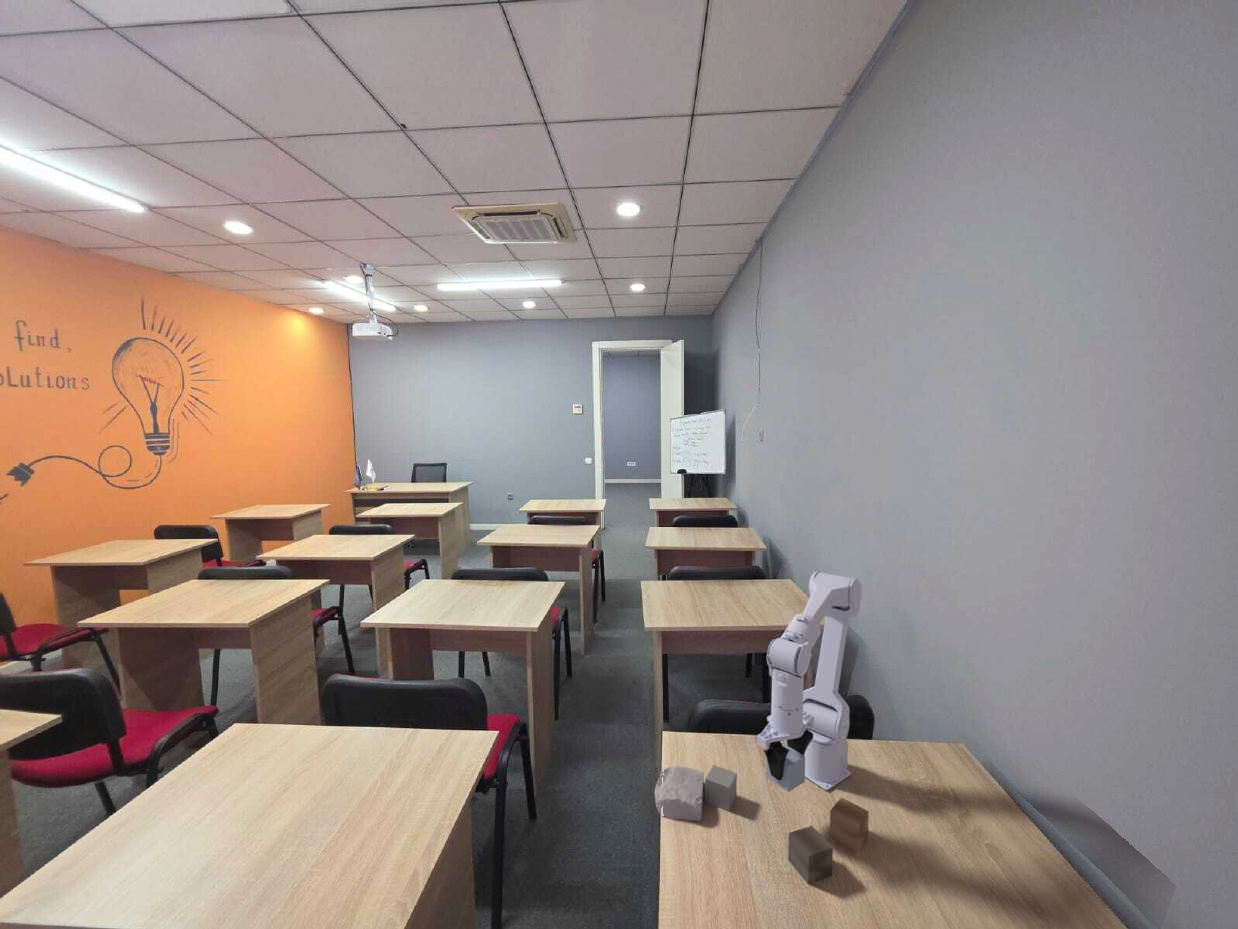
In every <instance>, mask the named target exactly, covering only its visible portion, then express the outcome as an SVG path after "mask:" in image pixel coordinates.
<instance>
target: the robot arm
mask: <svg viewBox="0 0 1238 929" xmlns="http://www.w3.org/2000/svg"><path fill="white" fill-rule="evenodd" d="M810 576H811V577H810V579H809V582H808V583H809V584H808V591H809V599H808V600H807V603H806V605H805V608H804V610H803V612H802V613H797V614H795V615H794V616H793V618H792V619H791V621H790V622H789V624H788V625H787V627H786V628H785V630H784V632H783V633H782V635H781V636H780V637H777V638H776V639H775V638H773V639H772V640H771V641H770V643H769V645H768V648H767V654H766V663H767V664H766V665H767V666H768V671H769V672H768V675H769V677H771V704H770V705H771V710H770V715H768V716H767V717H766V720H767V722H768V723H767V725H766V726H765V727H764V729H763V730H762V731H761V732H760V733H759V734H757V735H756V738H757V739H756V740H757V741H756V742H757V743H756V745H757V746H758V747H759V748H760V749H762V750H763V753H764V754H765V757H766V762H767V761H768V764H769V769H770V773H771V775H772V776H773V777H774V778H776V779H777V780H779V781H780V780H782V777H783V771H784V763H785V759H786V756H787V754H788V752H789V751H790V750H788V749H787V748H785V747H783V746H782V744H783V743H782V741H786V745H787V746H789V747H791V748H792V749H794V750H795V751H797V752H799V753H800V754H802V755H803V756H805V778H806V779H808V781H811V782H812V783H814V784H815V785H817V786H818V787H820V788H821V789H822V790H824V791H829V790H832V789H833V787H835V786H837V785H838V784H840V783H841V782H842V781H844V780H845V779H846V778H848V777H850V776H851V775H852V772H851V771H850V770H849V769H848V764H849V763H848V760H849V759H848V758H849V744H848V740H847V738H848V735H849V730H850V711H851V710H850V706H849V705H848V703H847V702H846V700H845V699H844V698H843V697H842V695H841V694H840V693H839V688H840V687H839V686H840V681H841V673H842V668H843V661H844V654H845V648H846V647H845V646H846V641H847V636H848V635H847V634H848V633H847V632H848V628H849V623H850V621H851V618H855V617H859V612H860V608H861V600H862V594H863V590H862V585H861V582H860V580H859V579H858V578H855V577H854V578H852V577H848V576H841V575H836V574H831V573H826V572H821V571H820V570H819V571H814V572H813V573H812V574H811V575H810ZM824 618H825V619H824ZM823 620H825V621H824V625H823V626H824V627H823V633H822V639H821V645H820V650H819V657H818V663H817V669H816V675H815V676H816V677H815V681H814V686H811V687H810V688H807V689H804V684H805V683H804V680H805V675H806V674H807V672H808V670H809V667H810V666H809V665H810V661H811V659H812V656H813V655H812V649H813V648H814V647H815V646H814V645H815V644H816V643H817V640H818V639H819V637H820V635H821V632H822V628H821V626H820V623H822V621H823Z"/></svg>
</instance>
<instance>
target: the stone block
mask: <svg viewBox="0 0 1238 929" xmlns="http://www.w3.org/2000/svg"><path fill="white" fill-rule="evenodd" d="M663 770H664V772H663ZM663 770H661V771H660V772H659V773H660V774H659V777H658V779H657V782H656V785H655V789H654V802H655V807H656V809H657V812H658V814H659V816H661V808H662V806H663V814H664V816H665V817H664V818H666V819H670V820H679V821H680V820H683V821H688V822H691V821H694V822H701V821H702V819H703V818H702V816H703V797H704V792H703V791H704V771H702V770H699V769H695V768H690V767H687V766H682V765H681V766H680V765H679V766H678V765H676V766H675V765H674V766H668V767H666V768H663ZM663 773H664V775H663ZM662 777H663V787H662Z"/></svg>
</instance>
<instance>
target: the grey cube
mask: <svg viewBox="0 0 1238 929" xmlns="http://www.w3.org/2000/svg"><path fill="white" fill-rule="evenodd" d="M737 779H738V773H737V772H734V771H732V770H729V769H727V768H723V767H721V766H718V765H715V764H713V765H712V767H711V769H710V770H709V771H708V773H707V775H706V777H705V778H704V803H707V804H708V805H711V806H713V807H716V808H719V809H721V810H724V811H726V812H730V811H731V808H732V806H733V804H734V802H735V800H736V798H737V793H738V792H737V789H738V788H737V784H738V782H737V781H738V780H737Z"/></svg>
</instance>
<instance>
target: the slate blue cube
mask: <svg viewBox="0 0 1238 929" xmlns="http://www.w3.org/2000/svg"><path fill="white" fill-rule="evenodd" d="M782 746H783V747H785V748H787V749H788V750H790V751H789V752H788V754H787V756H786V759H785V763H784V771H783V777H782V780H780V781H779V780H777V779H776V778H774V777H773V776H772V775H771V773H770V769H769V764H768V761H767V760H766V775H765V776H766V778H767V779H768V780H770V781H771V782H773V783H774V784H776V785H777V786H779V787H780V788H781V789H783V790H784V791H786V792H787V793H790V792H791V791H793V790H794V789H795V788H797V787H799V786H800V785H802V784H804V783H806V779H805V778H806V777H805V756H803V755H802V754H800V753H799V752H797V751H795V750H794V749H792V748H791V747H789V746H787V743H782Z"/></svg>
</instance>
